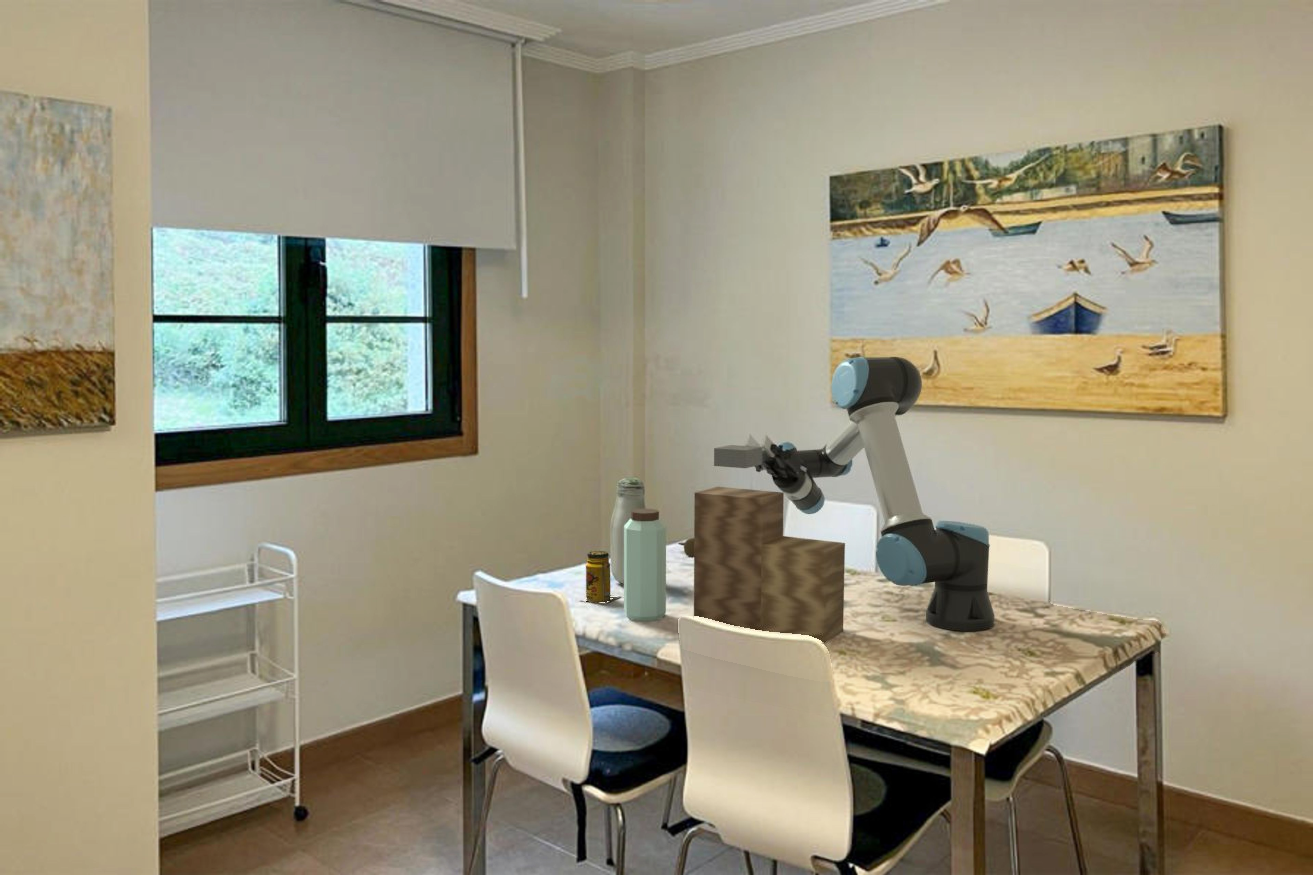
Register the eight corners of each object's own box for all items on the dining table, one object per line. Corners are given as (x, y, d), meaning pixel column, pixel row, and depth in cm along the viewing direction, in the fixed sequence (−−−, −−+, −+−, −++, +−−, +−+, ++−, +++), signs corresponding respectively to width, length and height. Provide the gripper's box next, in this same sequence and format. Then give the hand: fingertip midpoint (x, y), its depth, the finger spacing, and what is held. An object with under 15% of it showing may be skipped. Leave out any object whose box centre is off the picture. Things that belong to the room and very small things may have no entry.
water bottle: (661, 623, 250) (661, 515, 247) (619, 621, 252) (618, 513, 249) (669, 612, 259) (670, 508, 257) (628, 610, 261) (628, 506, 259)
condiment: (579, 601, 270) (578, 553, 268) (596, 594, 277) (596, 547, 276) (604, 605, 266) (604, 556, 265) (621, 597, 274) (621, 550, 272)
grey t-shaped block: (786, 458, 259) (786, 441, 259) (745, 468, 242) (746, 450, 241) (755, 456, 264) (755, 440, 263) (714, 465, 246) (714, 448, 245)
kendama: (736, 563, 315) (672, 556, 323) (746, 557, 324) (683, 550, 332) (737, 543, 315) (672, 536, 322) (747, 537, 324) (684, 531, 331)
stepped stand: (843, 631, 244) (845, 498, 241) (823, 643, 234) (826, 505, 231) (716, 611, 260) (717, 486, 257) (693, 622, 251) (694, 492, 248)
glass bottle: (622, 589, 282) (621, 481, 279) (604, 581, 291) (604, 476, 288) (655, 585, 286) (655, 479, 284) (637, 577, 295) (637, 474, 292)
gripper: (819, 496, 267) (784, 456, 249) (758, 490, 276) (720, 452, 257) (825, 468, 269) (791, 427, 251) (764, 463, 278) (727, 423, 260)
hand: (755, 440), depth 254 cm, fingers closed on grey t-shaped block, 3 cm apart
